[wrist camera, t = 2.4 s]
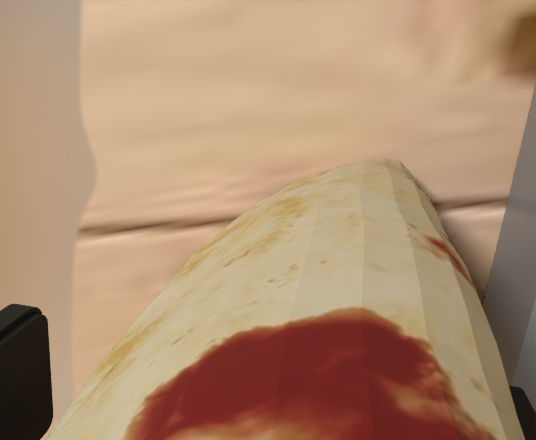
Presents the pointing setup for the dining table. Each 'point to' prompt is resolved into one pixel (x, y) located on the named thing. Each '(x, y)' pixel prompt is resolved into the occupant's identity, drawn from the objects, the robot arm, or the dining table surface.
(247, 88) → the dining table surface
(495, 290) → the bin
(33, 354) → the robot arm
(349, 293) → the food model
